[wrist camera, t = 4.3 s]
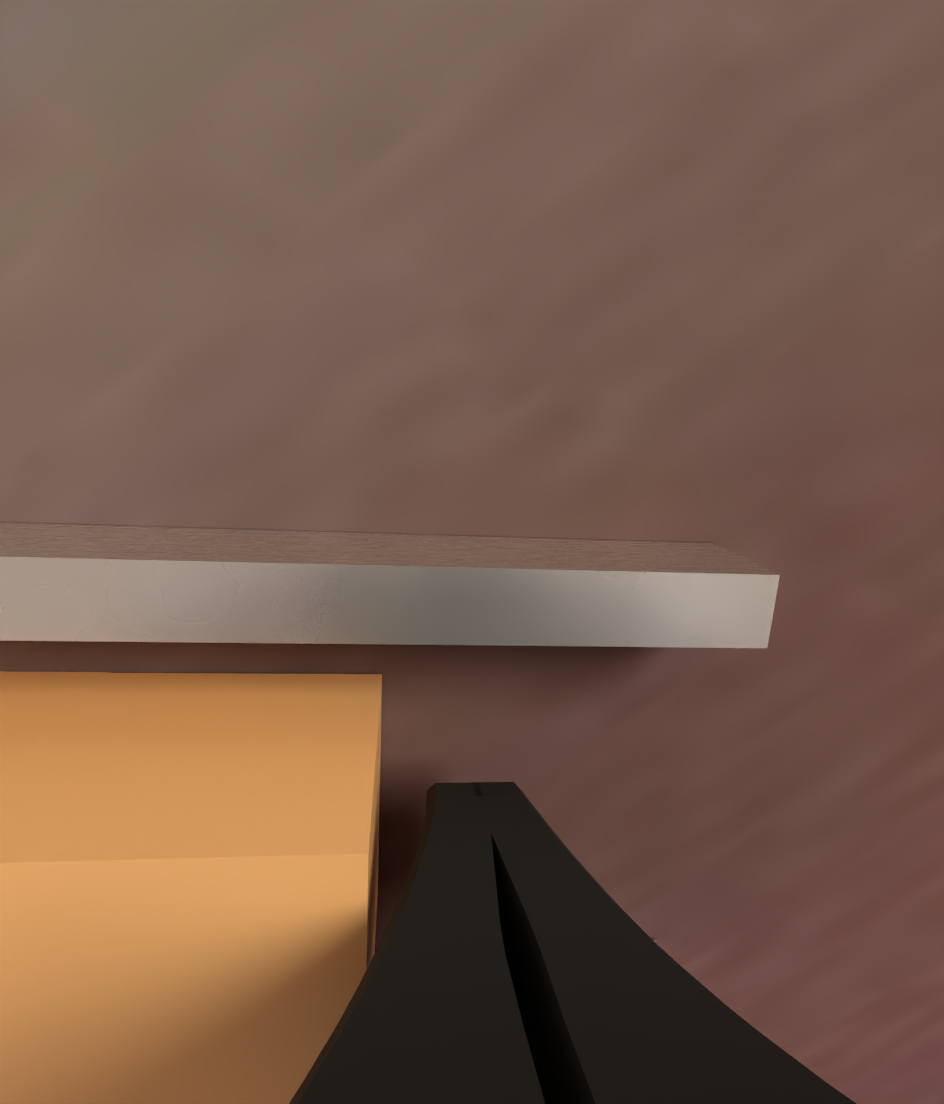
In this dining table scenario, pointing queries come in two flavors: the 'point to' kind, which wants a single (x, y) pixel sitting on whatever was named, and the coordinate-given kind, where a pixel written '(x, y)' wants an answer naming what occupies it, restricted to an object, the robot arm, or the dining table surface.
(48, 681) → the tan wooden cube
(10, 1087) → the light orange cube
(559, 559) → the rail channel
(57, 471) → the dining table surface
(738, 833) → the dining table surface
